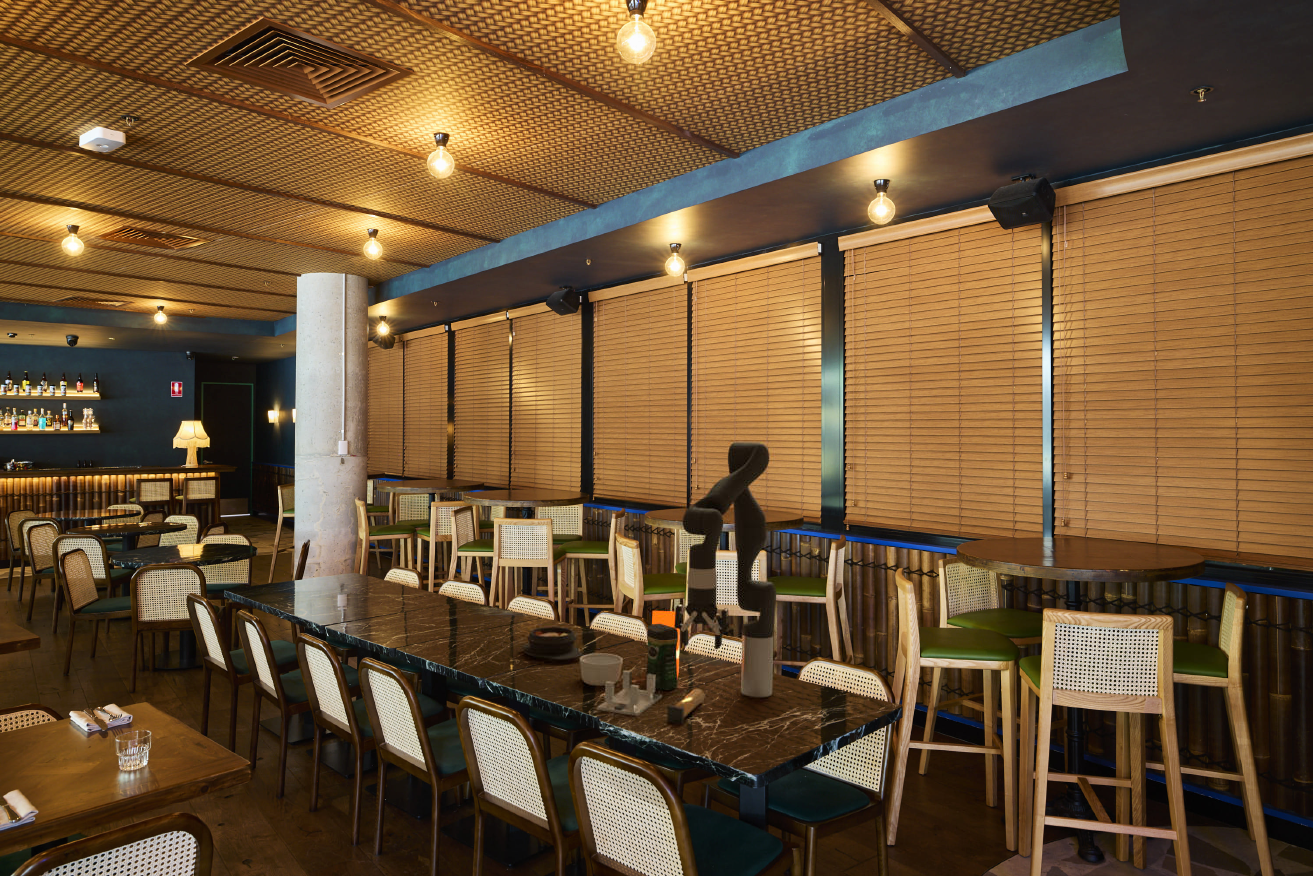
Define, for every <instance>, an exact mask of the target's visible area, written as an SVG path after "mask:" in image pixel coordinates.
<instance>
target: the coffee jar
mask: <svg viewBox="0 0 1313 876" xmlns="http://www.w3.org/2000/svg"><path fill="white" fill-rule="evenodd" d="M646 640H647V660H646V661H647V662H646V671H645V674H646V675H645V683H646V685H647V675H648V674H655V690H666V691H668V690H672V689H674V688H676V687H677V686H678V678H677V658H676V649H677V642H678V630H677V629H676V628H674V627H670V626H667V625H663V624H661V623H659V624H652V623H651V624H649V626H648V627H647V633H646Z"/></svg>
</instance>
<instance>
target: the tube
mask: <svg viewBox="0 0 1313 876" xmlns="http://www.w3.org/2000/svg"><path fill="white" fill-rule="evenodd" d="M705 697H706V696H705V693H704V691H703V690H702V689H701V688H694V689H693V690H691V691H690V692H689V693H688V694H686V695H685V696H684V697H683V698H682V699H681V700H679V701H678V702H677V703H675V704H669V705H668V706H667V718H666V719H667V721H666V722H667V723H671V724H677V725H683V724H684V723H685V718H686V717H687V716H688V715H689V714H690V713H691V712H692V711H693V710H695V709H696V708H697V707H698V706H699V705H700V704H701V703H702V702H703V701H705Z"/></svg>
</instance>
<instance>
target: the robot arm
mask: <svg viewBox="0 0 1313 876" xmlns="http://www.w3.org/2000/svg"><path fill="white" fill-rule="evenodd" d="M769 462H770V452H769V448H768V447H767V446H766V445H765V444H764V443H761V442H750V441H747V442H744V441H743V442H742V441H737V442H732V443H731V445H730V446H729V448H728V453H727V464H728V472H729V474H728V475H726V476H724V477H723V478H721V479H719V480H718V481H717V482H715V484H713V486H712V487H711V488H710V490H709V491H708V493H706V495H705V496H703V497H702V498H700V499H699V500H698V501H696V502H695V503H693V504H692V505H690V506H689V507H688V508H687V510H686V511H685V513H684V515H683V517H682V527H683V529H684V530H685V532H687V533H688V534H690V535H695V536H704V539H703V542H702V543H696V544H692V545H691V546H690V547H689V550H688V551H689V553H688V573H687V583H686V584H687V604H686V605H683V604H682V603H680V604H678V605H677V606H676V607H675V611H674V612H675V624H674V627H675V628H676V629H677V628H678V629H680V631H681V632H680V633H681V636H680V637H681V641H680V642H681V644H682V645H683V646H684V647H687V646H688V645H689V643H690V642H689V641H690V639H689V635H690V634H689V632H690V631H689V630H688V629H689V628H690V627H691V625H692V624H693V623H694V624H695V625H703V626H706V625H708V626H709V627H710V629H712V631H713V632H714V633H715V635H714V650H719V649H720V648H721V647H722V643H723V635H724V634H726V633H727V632H729V631H730V619H729V618H730V615H729V614H730V613H729V609H728V608H727V607H726V608H718V607H717V592H718V591H717V580H718V579H717V550H718V545H719V542H720V539H721V534H722V532H723V528H724V518H723V515H725V514H726V513H727V512H728V511H729V509H730V508H731V506H732V505H733V516H734V519H733V520H734V522H733V524H734V534H735V536H734V537H735V545H736V559H737V560H736V564H737V565H736V567H737V568H736V569H737V571H736V572H737V573H736V597H737V604H738V607H739V608H740V609H741V610H742V611H747V612H751V613H759V617H758V619H756V620H754V621H753V620H752V621H749V622H746V623H744V624H742V629H741V668H740V669H741V671H740V672H741V676H740V677H741V678H740V693H741V694H742V695H743V696H747V697H752V698H766V697H770V696H771V695H773V673H774V671H773V669H774V667H773V666H774V665H773V663H774V660H773V659H774V628H775V617H776V602H777V591H776V587H775V585H774V583H773V582H772V581H765V580H755V579H753V577H752V574H753V573H752V571H753V566H754V563H755V561H756V559H757V557H758V555H760V552H761V551H762V549H763V548H764V546H765V544H766V542H767V522H766V521H767V519H766V516H765V512H764V510H763V509H762V507H761V506H760V504H759V503H758V501H757V500H756V498H755V497H754V494H753V493H752V491H751V489H750V488H749V486H751V485H752V484H753V483H754V482H755V481H756V480H757V479H758V478H759V477H760V476H761V475H762V474H763V473H764V472H765V471H766V470H767V468H768V467H769ZM685 612H686V613H687V615H688V618H687V620H685V622H684V624H683V614H684V613H685ZM717 615H719V618H721V626H720V624H719V621H718V620H717V619H716V616H717Z"/></svg>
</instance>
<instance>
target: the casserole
mask: <svg viewBox="0 0 1313 876" xmlns="http://www.w3.org/2000/svg"><path fill="white" fill-rule="evenodd" d="M526 640H527V641H528V643H525V644H523V645H521V649H522V650H523V651H524V653H525V654H526V655H528V656H531V657H533V658H537V659H540V660H545V661H564V660H572V659H577V658H581V657H582V656H584V653H583V652H581V651H580V650H579V648H578V647H576V646H575V642H576V640H577V636H576V635H575V632H574V630H572V629H570V628H565V627H557V626H556V627H555V626H548V627H540V628H534V629H532V630H530V633H529V635H528V636H527V637H526Z"/></svg>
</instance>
